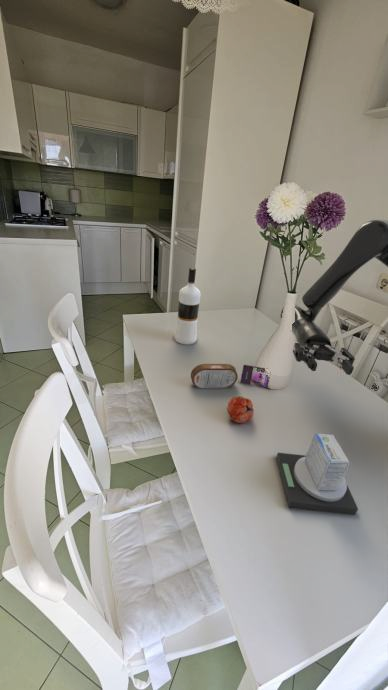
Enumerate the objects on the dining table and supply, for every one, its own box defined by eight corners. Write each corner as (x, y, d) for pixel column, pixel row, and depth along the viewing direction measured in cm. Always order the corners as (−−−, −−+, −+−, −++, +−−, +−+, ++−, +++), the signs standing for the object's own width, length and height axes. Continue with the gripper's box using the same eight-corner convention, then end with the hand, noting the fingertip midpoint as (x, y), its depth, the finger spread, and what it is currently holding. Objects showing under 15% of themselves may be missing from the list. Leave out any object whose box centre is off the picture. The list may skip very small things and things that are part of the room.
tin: (233, 384, 101) (237, 362, 98) (236, 389, 99) (240, 367, 95) (189, 384, 98) (191, 362, 95) (190, 390, 96) (193, 368, 92)
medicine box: (337, 491, 64) (351, 462, 60) (316, 491, 64) (329, 462, 60) (321, 461, 71) (333, 433, 67) (303, 460, 71) (314, 432, 66)
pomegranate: (220, 422, 87) (238, 425, 78) (219, 397, 88) (236, 396, 79) (242, 421, 90) (262, 423, 81) (241, 396, 91) (260, 395, 82)
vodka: (178, 346, 120) (185, 271, 106) (171, 336, 128) (176, 265, 114) (200, 344, 124) (209, 271, 110) (191, 334, 131) (198, 265, 117)
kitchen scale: (331, 465, 75) (336, 455, 73) (354, 516, 63) (360, 506, 61) (275, 459, 74) (278, 449, 73) (287, 509, 63) (291, 498, 61)
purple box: (243, 365, 100) (271, 370, 99) (243, 362, 105) (269, 366, 104) (240, 384, 101) (267, 389, 100) (239, 380, 106) (265, 385, 105)
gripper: (290, 324, 85) (307, 353, 70) (340, 330, 85) (368, 359, 71) (283, 348, 88) (299, 379, 74) (332, 353, 88) (357, 385, 74)
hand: (332, 369), depth 72 cm, fingers open, 8 cm apart
